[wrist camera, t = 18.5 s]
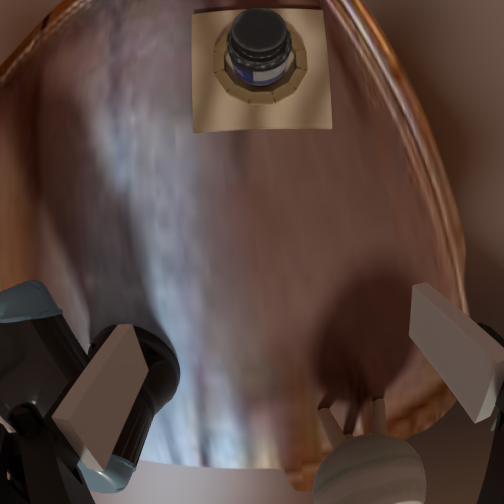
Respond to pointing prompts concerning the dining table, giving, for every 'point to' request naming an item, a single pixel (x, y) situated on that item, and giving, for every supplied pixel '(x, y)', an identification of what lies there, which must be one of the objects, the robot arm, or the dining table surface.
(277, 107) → the square socket plate
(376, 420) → the planter
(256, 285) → the dining table surface
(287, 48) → the pill bottle
